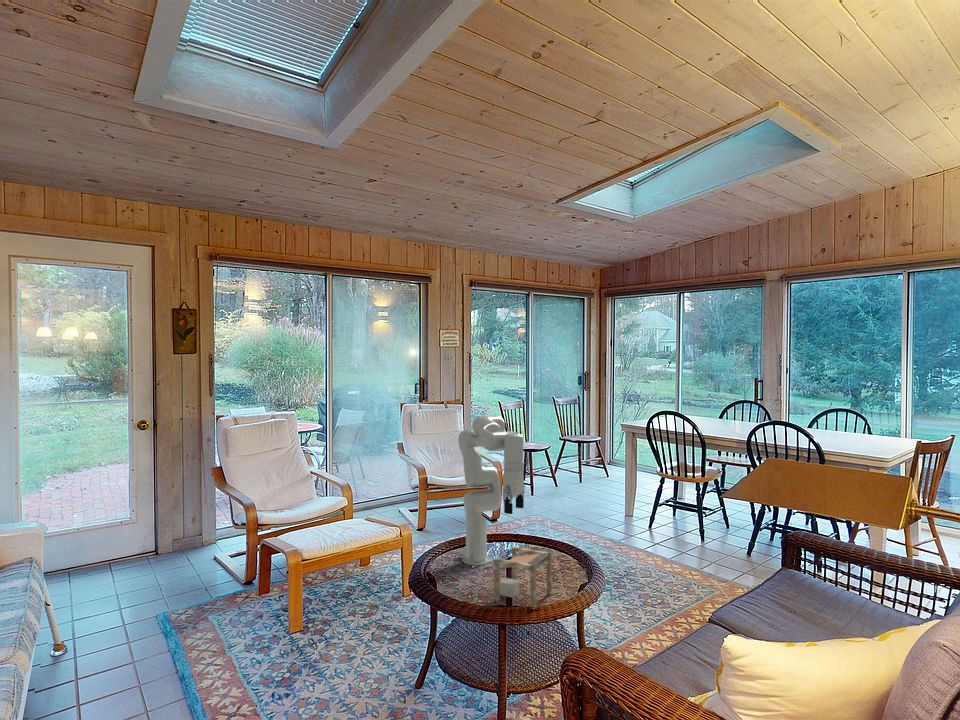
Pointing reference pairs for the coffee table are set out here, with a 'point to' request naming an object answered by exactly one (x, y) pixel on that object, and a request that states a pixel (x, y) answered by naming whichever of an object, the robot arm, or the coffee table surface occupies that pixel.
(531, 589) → the trapdoor frame
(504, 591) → the smooth gray block
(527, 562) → the trapdoor
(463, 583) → the coffee table surface
